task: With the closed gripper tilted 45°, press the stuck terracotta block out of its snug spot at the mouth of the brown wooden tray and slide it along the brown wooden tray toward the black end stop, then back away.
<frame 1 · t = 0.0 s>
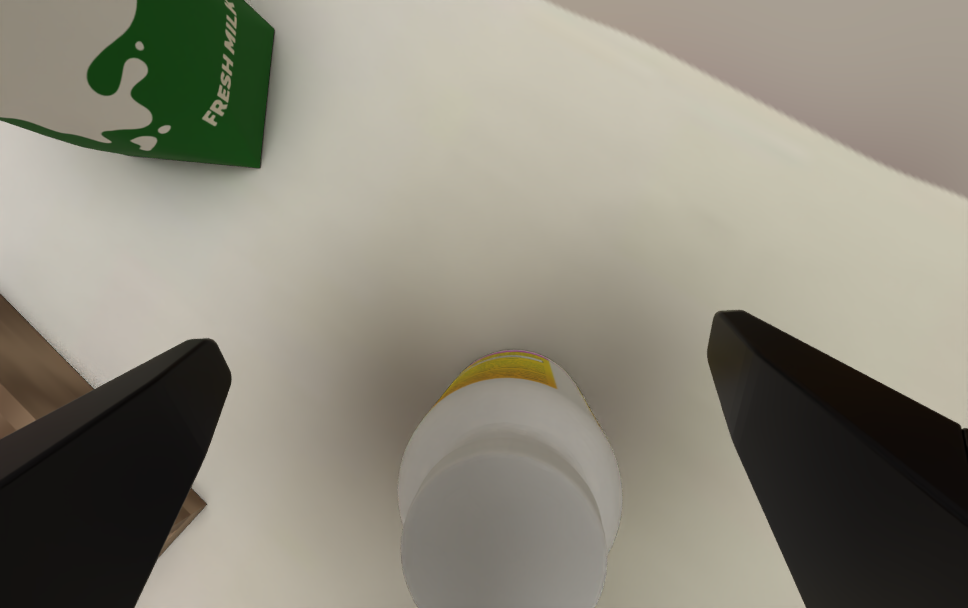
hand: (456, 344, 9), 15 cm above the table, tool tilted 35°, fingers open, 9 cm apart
brown wooden tray: (98, 509, 26), on the table
supplement bottle: (515, 416, 24), on the table
milk carton: (202, 94, 25), on the table
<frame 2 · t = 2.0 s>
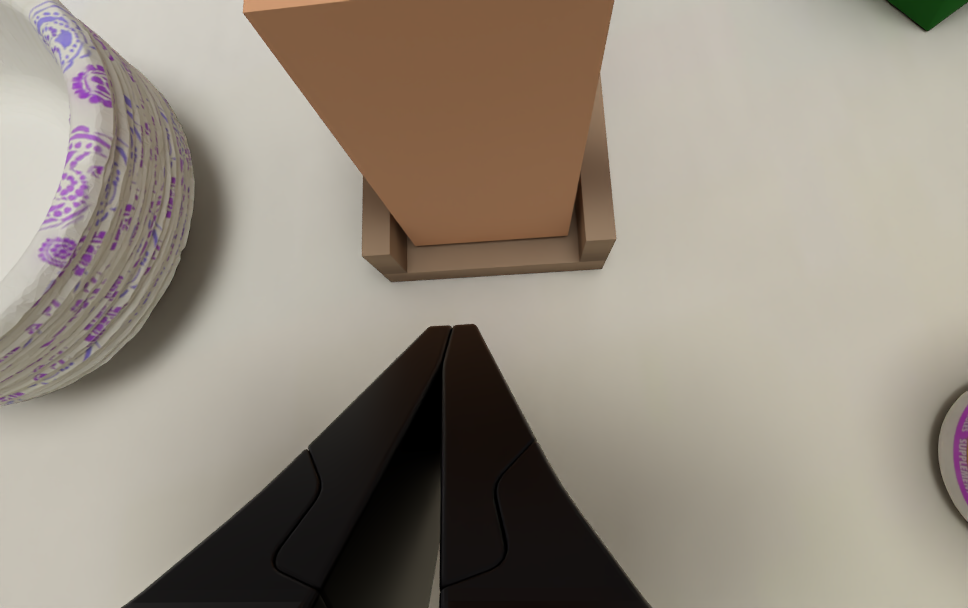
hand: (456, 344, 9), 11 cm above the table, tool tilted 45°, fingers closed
brown wooden tray: (490, 186, 22), on the table
jammed block: (468, 73, 14), point 7 cm above the table, slide at 0.0 cm
paper bowls: (89, 241, 23), on the table
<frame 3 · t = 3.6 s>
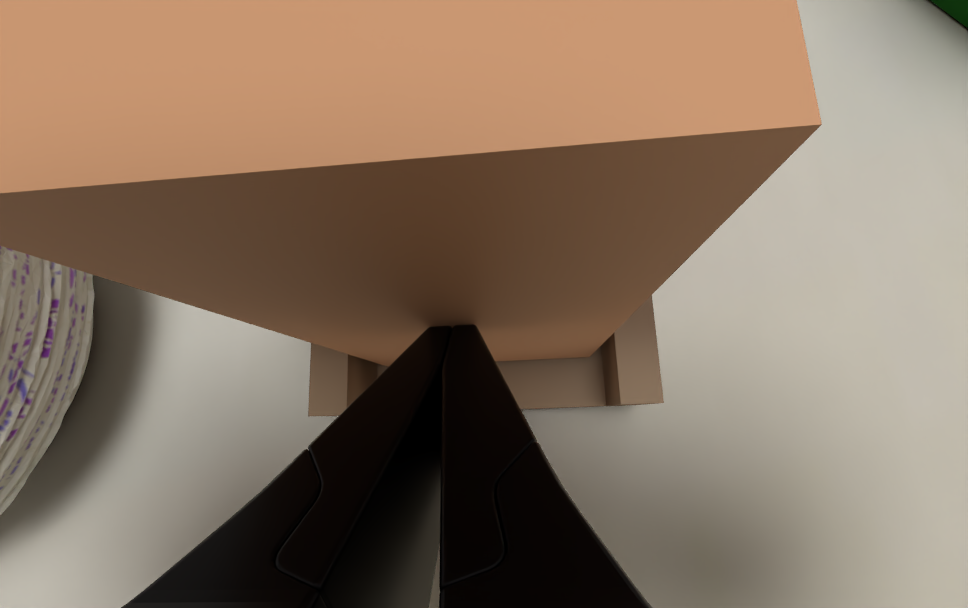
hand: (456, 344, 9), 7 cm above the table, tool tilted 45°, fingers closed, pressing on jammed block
brown wooden tray: (487, 288, 17), on the table
jammed block: (451, 173, 10), point 7 cm above the table, slide at 0.4 cm, touching gripper
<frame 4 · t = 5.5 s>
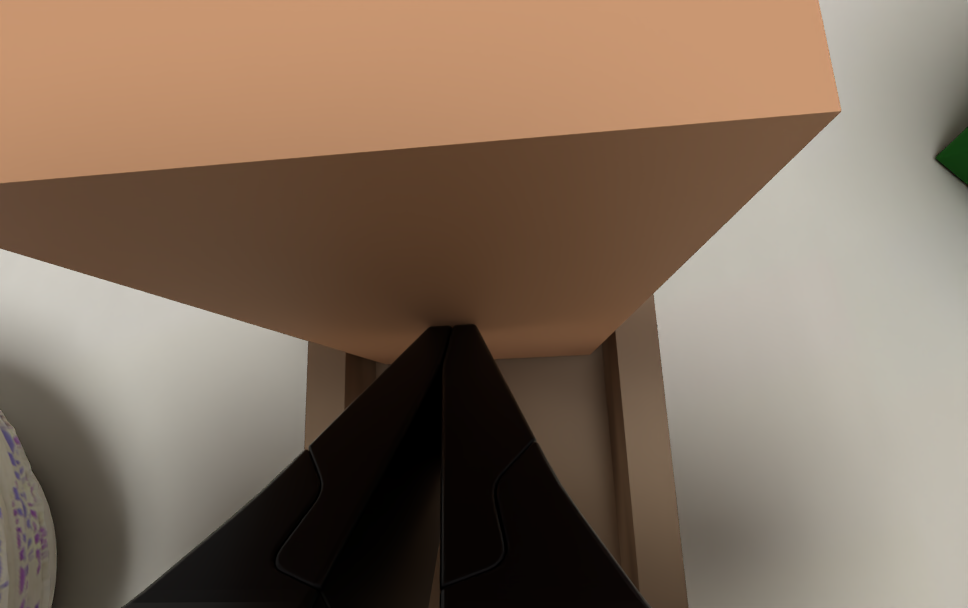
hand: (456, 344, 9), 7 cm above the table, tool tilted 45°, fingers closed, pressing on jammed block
brown wooden tray: (497, 537, 15), on the table
jammed block: (449, 168, 9), point 7 cm above the table, slide at 8.2 cm, touching gripper
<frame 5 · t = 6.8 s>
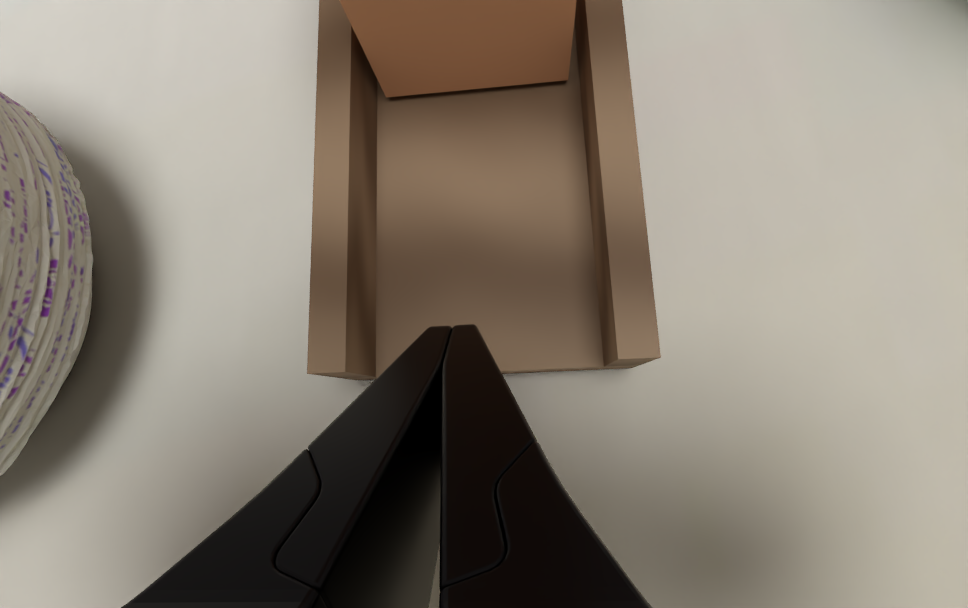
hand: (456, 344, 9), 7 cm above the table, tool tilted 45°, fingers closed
brown wooden tray: (486, 254, 17), on the table
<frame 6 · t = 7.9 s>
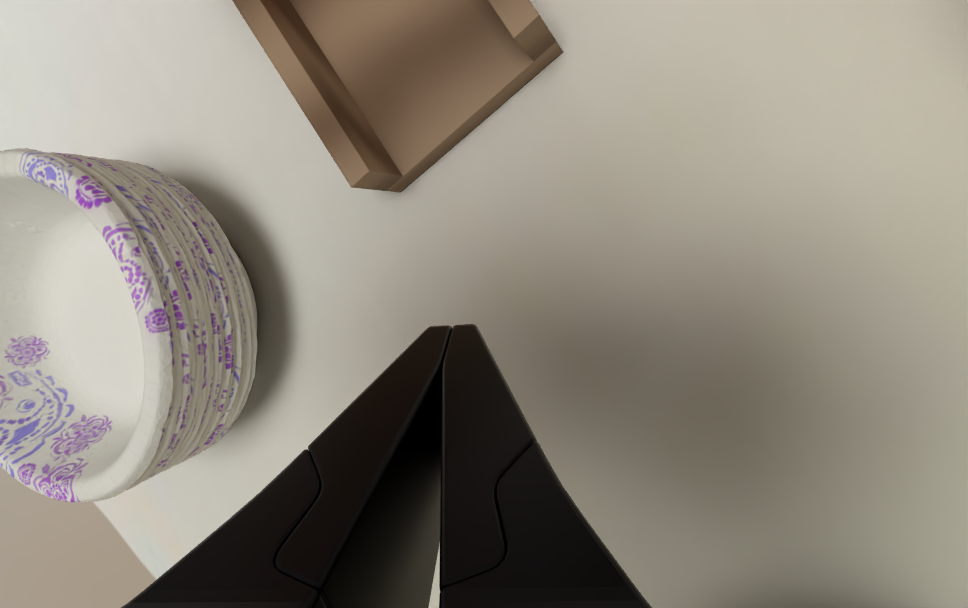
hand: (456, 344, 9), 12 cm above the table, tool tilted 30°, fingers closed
brown wooden tray: (423, 49, 21), on the table
paper bowls: (195, 305, 28), on the table
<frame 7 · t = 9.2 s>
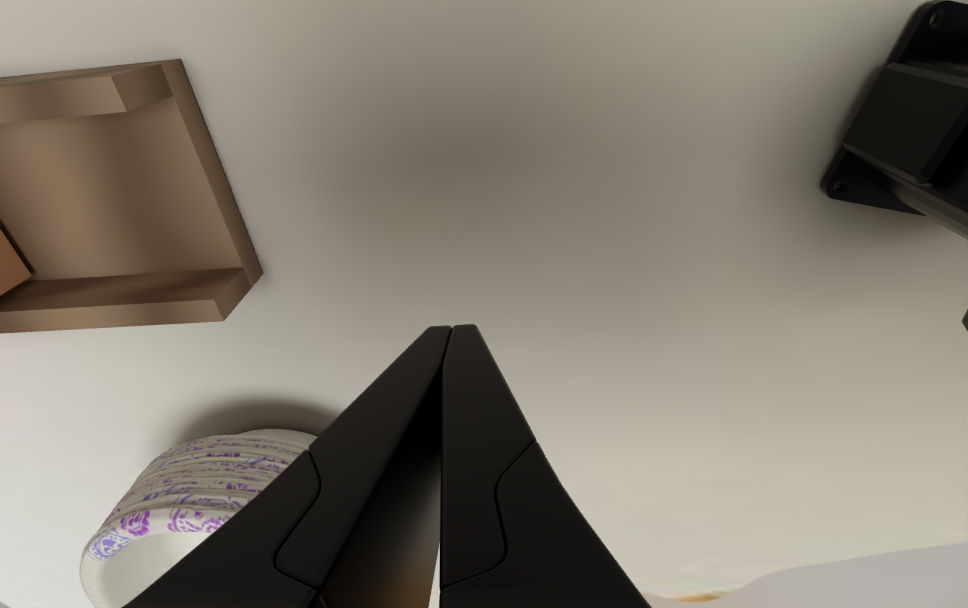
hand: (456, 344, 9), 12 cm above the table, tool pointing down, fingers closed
brown wooden tray: (134, 186, 20), on the table
paper bowls: (298, 477, 31), on the table
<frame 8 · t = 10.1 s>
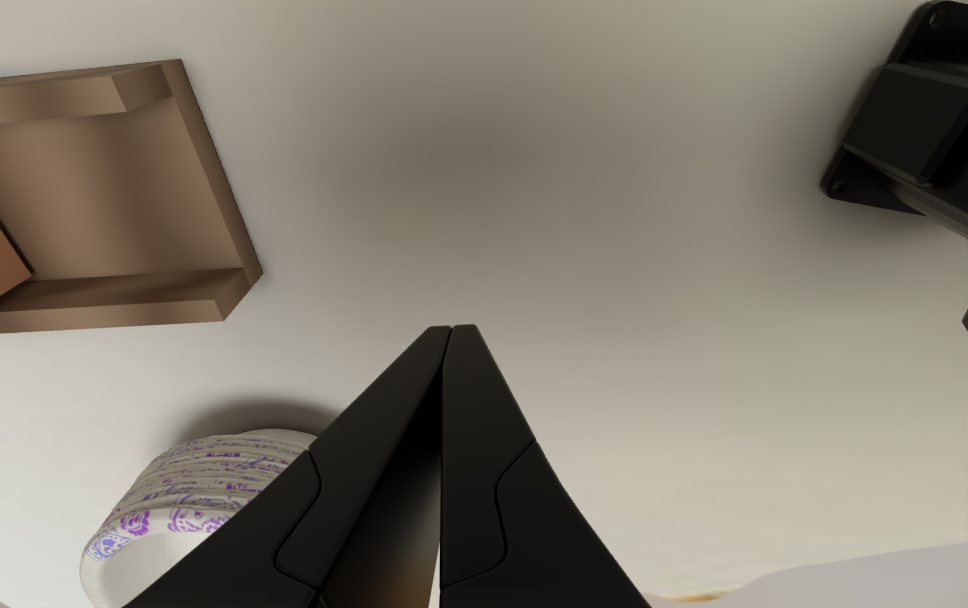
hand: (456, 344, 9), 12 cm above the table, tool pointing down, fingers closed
brown wooden tray: (134, 186, 20), on the table
paper bowls: (298, 477, 31), on the table
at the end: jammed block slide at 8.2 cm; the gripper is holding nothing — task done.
